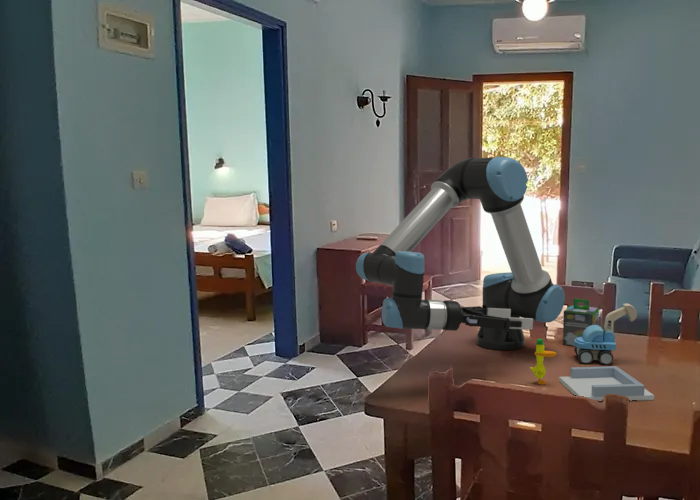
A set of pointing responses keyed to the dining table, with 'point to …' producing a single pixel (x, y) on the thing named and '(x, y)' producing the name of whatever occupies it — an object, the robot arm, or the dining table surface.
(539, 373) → the toy figure
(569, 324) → the chalk box
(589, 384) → the open-sided tray
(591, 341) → the toy excavator
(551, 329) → the dining table surface
